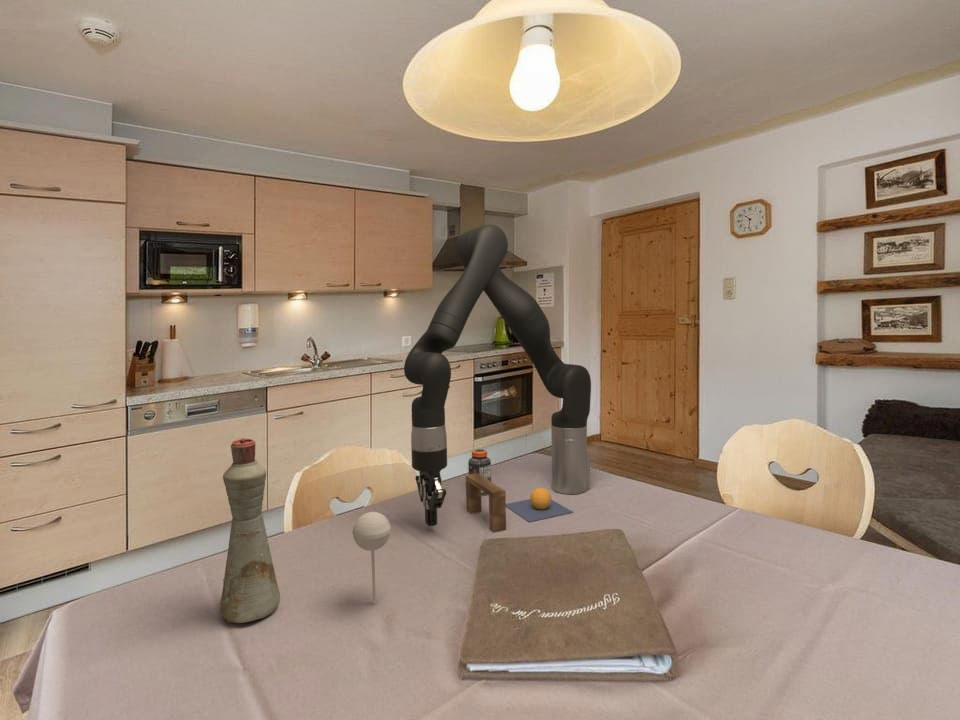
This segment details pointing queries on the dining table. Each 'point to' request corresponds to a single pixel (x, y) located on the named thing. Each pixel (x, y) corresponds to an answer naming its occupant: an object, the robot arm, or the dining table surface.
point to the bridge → (496, 500)
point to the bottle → (247, 542)
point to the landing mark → (537, 510)
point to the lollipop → (372, 536)
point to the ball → (540, 498)
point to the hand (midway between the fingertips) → (431, 524)
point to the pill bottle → (480, 464)
